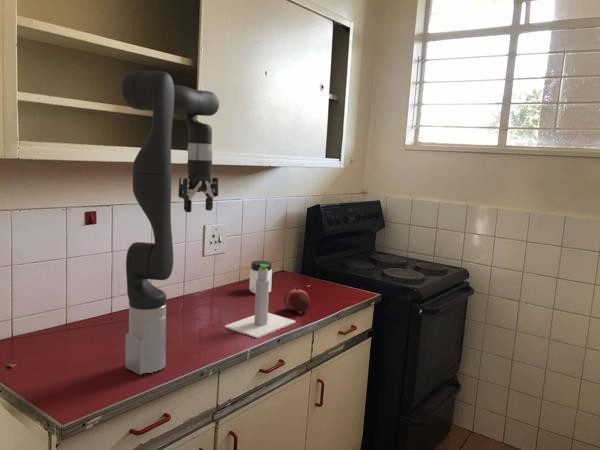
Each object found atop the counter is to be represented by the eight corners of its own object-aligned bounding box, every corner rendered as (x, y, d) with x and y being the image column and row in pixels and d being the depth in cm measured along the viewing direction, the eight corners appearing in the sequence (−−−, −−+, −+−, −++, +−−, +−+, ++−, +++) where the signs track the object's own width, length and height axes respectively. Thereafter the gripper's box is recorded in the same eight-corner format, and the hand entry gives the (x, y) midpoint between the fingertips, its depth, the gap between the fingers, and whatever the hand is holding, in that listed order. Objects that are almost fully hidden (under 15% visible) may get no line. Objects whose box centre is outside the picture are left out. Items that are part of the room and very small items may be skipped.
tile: (257, 338, 156) (257, 336, 156) (224, 327, 164) (224, 325, 164) (295, 322, 172) (295, 320, 172) (264, 313, 180) (264, 311, 180)
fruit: (304, 317, 178) (306, 289, 177) (279, 312, 181) (281, 286, 180) (312, 309, 187) (314, 283, 185) (288, 305, 190) (290, 280, 188)
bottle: (263, 326, 165) (266, 267, 162) (252, 324, 167) (254, 265, 163) (269, 322, 169) (272, 264, 166) (257, 320, 171) (260, 262, 168)
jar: (274, 293, 205) (275, 264, 203) (255, 295, 201) (256, 265, 199) (264, 287, 213) (265, 259, 211) (246, 289, 209) (247, 261, 207)
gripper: (190, 159, 146) (189, 214, 148) (225, 159, 157) (223, 211, 160) (173, 157, 150) (172, 211, 152) (208, 158, 161) (207, 208, 164)
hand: (198, 211), depth 156 cm, fingers open, 8 cm apart
